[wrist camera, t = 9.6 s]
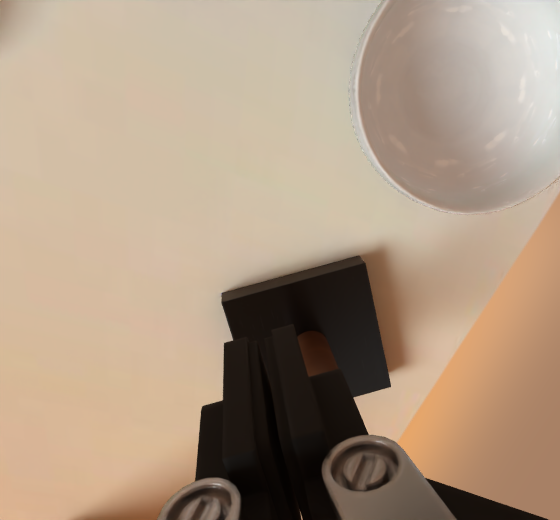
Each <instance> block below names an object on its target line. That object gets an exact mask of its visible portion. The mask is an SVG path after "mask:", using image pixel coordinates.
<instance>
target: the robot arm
mask: <svg viewBox="0 0 560 520" xmlns="http://www.w3.org/2000/svg"><path fill="white" fill-rule="evenodd" d="M271 332H272V336H271V337H268V338H264V342H265V349H266V355H267V362H268V369H269V375H270V380H269V377H268V374H267V370H266V367H265V364H264V360H263V357H262V354H261V350H260V347H259V344H258V341H253V342H249V340H248V338H247V337H244V338H241V339H237V340H233V341H230V342H226V343H224V376H223V401H219V402H216V403H212V404H208V405H205V406H203V407H202V410H201V420H200V432H199V443H198V455H197V467H196V478H195V482H193V483H191V484H189V485H187V486H185V487H183V488H182V489H180V490H179V491H178V492H177V493H175V494H174V495H173V496H172V497H171V498H170V499H169V500H168V501H167V503H166V504H165V505H164V506H163V508H162V510H161V512H160V514H159V516H158V518H157V520H301V515H302V518H303V520H548V519H545V518H543V517H539V516H536V515H534V514H531V513H528V512H524V511H522V510H519V509H516V508H513V507H510V506H507V505H504V504H501V503H498V502H495V501H492V500H489V499H486V498H483V497H480V496H477V495H474V494H472V493H469V492H466V491H463V490H459V489H457V488H454V487H451V486H448V485H445V484H442V483H439V482H436V481H433V480H430V479H427V478H424V476H423V475H422V474H421V472H420V471H419V469H418V468H417V467H416V466H415V464H414V463H413V462H412V460H411V459H410V458H409V456H408V455H407V454H406V453H405V451H404V450H403V449H402V448H401V447H400V446H399V445H398V444H397V443H396V442H394V441H392V440H390V439H388V438H386V437H382V436H376V435H369V434H368V432H367V430H366V427H365V425H364V422H363V420H362V418H361V415H360V413H359V410H358V408H357V406H356V403H355V401H354V399H353V396H352V394H351V391H350V389H349V387H348V384H347V382H346V379H345V377H344V375H343V372H342V370H341V369H340V368H339V369H335V370H331V371H328V372H324V373H321V374H317V375H313V376H310V377H309V376H308V373H307V369H306V366H305V363H304V359H303V356H302V352H301V349H300V345H299V342H298V338H297V335H296V332H295V328H294V325H293V324H292V325H288V326H284V327H281V328H277V329H274V330H271ZM270 382H271V384H270ZM300 512H301V514H300Z"/></svg>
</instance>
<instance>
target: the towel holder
mask: <svg viewBox="0 0 560 520" xmlns="http://www.w3.org/2000/svg"><path fill="white" fill-rule="evenodd" d="M221 303H222V306H223V309H224V312H225V315H226V318H227V321H228V325H229V328H230V331H231V334H232V337H233V340H237V339H241V338H244V337H247V338H248V340H249V342H253V341H258V344H259V347H260V350H261V354H262V357H263V360H264V364H265V367H266V370H267V374H268V377H269V380H270V375H269V369H268V362H267V355H266V349H265V342H264V338H268V337H271V336H272V332H271V330H274V329H277V328H281V327H284V326H288V325H292V324H293V325H294V328H295V332H296V335H297V338H298V342H299V345H300V349H301V352H302V356H303V359H304V363H305V366H306V369H307V373H308V376H309V377H310V376H313V375H317V374H321V373H324V372H328V371H331V370H335V369H339V368H340V369H341V370H342V372H343V375H344V377H345V379H346V382H347V384H348V387H349V389H350V391H351V394H352V396H353V397H356V396H360V395H363V394H367V393H371V392H374V391H378V390H381V389H385V388H389V387H391V383H390V378H389V374H388V369H387V364H386V359H385V355H384V350H383V345H382V340H381V335H380V331H379V326H378V321H377V316H376V311H375V307H374V302H373V297H372V292H371V288H370V283H369V278H368V273H367V268H366V264H365V262H364V261H363V260H362V258H361V257H360V256H356V257H352V258H349V259H345V260H341V261H338V262H334V263H330V264H327V265H323V266H319V267H316V268H312V269H308V270H305V271H301V272H298V273H294V274H290V275H287V276H283V277H279V278H276V279H272V280H268V281H265V282H261V283H257V284H254V285H250V286H247V287H243V288H239V289H236V290H232V291H228V292H225V293H222V302H221ZM270 384H271V382H270Z"/></svg>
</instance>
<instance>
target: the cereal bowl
mask: <svg viewBox="0 0 560 520" xmlns="http://www.w3.org/2000/svg"><path fill="white" fill-rule="evenodd" d="M349 101H350V102H349V106H350V114H351V121H352V123H353V127H354V129H355V135H356V136H357V140H358V142H359V143H360V147H361V149H362V150H363V153H364V154H365V156H366V157H367V159H368V161H369V162H370V163H371V165H372V167H373V168H374V169H375V171H377V172H378V173H379V174H380V176H381V177H382V178H383V179H384V180H385V181H386V182H387V183H388V184H390V185H391V186H392V187H393V188H394V189H396V190H397V191H398V192H400V193H401V194H403V195H405V196H406V197H408V198H409V199H412V200H413V201H416V202H417V203H420V204H422V205H424V206H427V207H430V208H432V209H435V210H438V211H442V212H446V213H453V214H463V215H475V214H486V213H492V212H497V211H501V210H504V209H507V208H510V207H513V206H516V205H518V204H520V203H522V202H524V201H526V200H528V199H530V198H532V197H534V196H536V195H537V194H539V193H540V192H542V191H543V190H545V189H546V188H547V187H549V186H550V185H551V184H552V183H554V182H555V181H556V180H557V179H558V178H559V177H560V0H383V1H382V2H381V3H380V5H379V6H378V7H377V9H376V11H375V12H374V13H373V15H372V16H371V18H370V19H369V21H368V23H367V25H366V27H365V28H364V30H363V34H362V35H361V38H360V39H359V43H358V45H357V49H356V52H355V54H354V59H353V62H352V68H351V72H350V82H349Z"/></svg>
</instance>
